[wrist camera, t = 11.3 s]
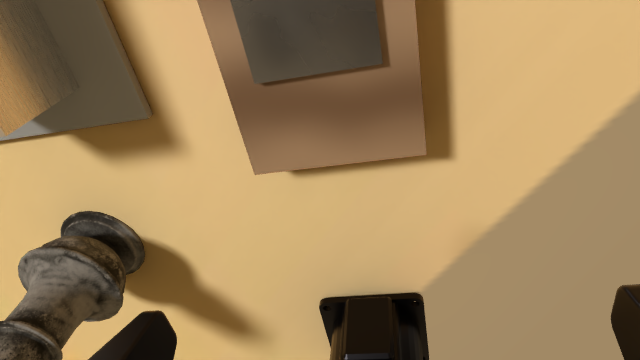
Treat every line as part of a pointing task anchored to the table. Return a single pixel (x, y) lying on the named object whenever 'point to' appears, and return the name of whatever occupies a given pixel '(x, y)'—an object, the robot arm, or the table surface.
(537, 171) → the table surface
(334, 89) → the body
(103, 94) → the rubber mat
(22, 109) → the lever cap
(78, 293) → the weathered candle holder
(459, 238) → the table surface
